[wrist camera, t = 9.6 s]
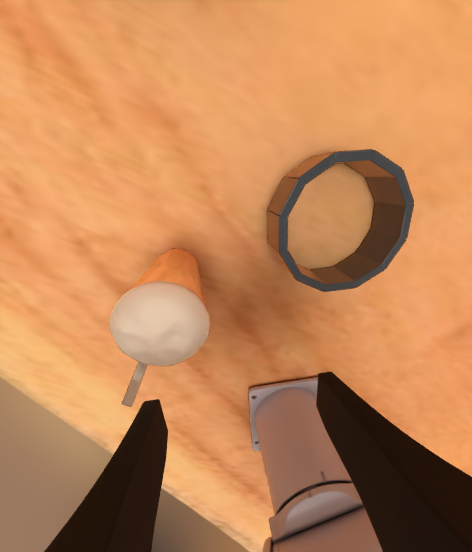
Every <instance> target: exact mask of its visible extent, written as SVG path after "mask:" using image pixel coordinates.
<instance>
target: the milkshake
mask: <svg viewBox="0 0 472 552" xmlns="http://www.w3.org/2000/svg"><path fill="white" fill-rule="evenodd" d="M109 326H110V330H111V332H112V335H113V337H114V340H115V342H116V344H117V346H118V348H119V349H120V350H121V351H122V352H123V353H124V354H126V355H127V356H129V357H131V358H133V359H135V360H137V361H138V364H137V366H136V369H135V371H134V374H133V376H132V379H131V381H130V384H129V386H128V389H127V391H126V394H125V396H124V399H123V401H122V405H126V406H130V407H131V406H132V405H133V403H134V400H135V397H136V395H137V392H138V389H139V386H140V384H141V381H142V378H143V376H144V373H145V370H146V367H147V365H155V366H171V365H174V364H177V363H180V362H182V361H184V360H186V359H188V358H190V357H191V356H193V355H194V354H195V353H196V352H197V351H198V350H199V349H200V348H201V346H202V345H203V344H204V342H205V341H206V339H207V337H208V334H209V330H210V319H209V315H208V311H207V307H206V303H205V298H204V294H203V291H202V287H201V282H200V275H199V269H198V264H197V259H196V258H195V257H193V256H192V255H191V254H190V253H189V252H188V251H187V250H181V249H175V248H173V249H171V250H169V251H166V252H164V253H162V254H161V255H160V256H159V257H158V258H157V259H156V260H155V261H154V263H153V264H152V265H151V266H150V267H149V268H148V269H147V271H146V272H145V273H144V274H143V275H142V276H141V277H140V278H139V280H138V281H137V282H136V283H135V284H134V285H133V286H132V287H131V288H130V289H129V290H128V291H127V292H125V293H124V294H123V295H122V296H121V297H120V298H119V300H118V301H117V303H116V304H115V306H114V308H113V311H112V313H111V316H110V321H109Z"/></svg>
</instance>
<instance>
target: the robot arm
mask: <svg viewBox="0 0 472 552" xmlns="http://www.w3.org/2000/svg"><path fill="white" fill-rule="evenodd" d="M248 395H249V409H250V422H251V436H252V448H253V450H254V451H261V452H262V457H263V462H264V467H265V471H266V476H267V481H268V486H269V490H270V495H271V500H272V504H273V509H274V514H275V516H273V517H271V518H269V524H270V529H271V535H272V537H269V538H268V539H266V540H265V543H264V546H263V552H472V477H471V476H469V475H467V474H466V473H464V472H463V471H461V470H459V469H458V468H456V467H454V466H453V465H451V464H450V463H448V462H446V461H445V460H443V459H442V458H440V457H439V456H437V455H435V454H434V453H432V452H431V451H429V450H428V449H427V448H425V447H424V446H422V445H421V444H419V443H418V442H416V441H415V440H414V439H412V438H411V437H409V436H408V435H407V434H405V433H404V432H403V431H401V430H400V429H399V428H397V427H396V426H395V425H393V424H392V423H391V422H390V421H388V420H387V419H386V418H384V417H383V416H382V415H381V414H379V413H378V412H377V411H376V410H375V409H373V408H372V407H371V406H370V405H369V404H367V403H366V402H365V401H364V400H363V399H362V398H360V397H359V396H358V395H357V394H356V393H355V392H354V391H352V390H351V389H350V388H349V387H348V386H347V385H346V384H345V383H343V382H342V381H341V380H340V379H339V378H338V377H337V376H336V375H335V374H333V373H332V372H325V373H319V374H318V377H315V378H308V379H302V380H296V381H289V382H283V383H277V384H270V385H264V386H258V387H252V388H250V389H249V390H248ZM167 437H168V429H167V426H166V422H165V419H164V415H163V411H162V408H161V404H160V401H159V399H157V400H151V401H145V402H144V403H143V404H142V406H141V408H140V410H139V412H138V414H137V415H136V417H135V419H134V421H133V423H132V425H131V426H130V428H129V430H128V432H127V433H126V435H125V437H124V438H123V440H122V442H121V443H120V445H119V447H118V448H117V450H116V452H115V453H114V455H113V457H112V458H111V460H110V462H109V463H108V464H107V466H106V468H105V469H104V471H103V472H102V474H101V475H100V477H99V478H98V480H97V481H96V483H95V484H94V486H93V487H92V489H91V490H90V492H89V493H88V495H87V496H86V497H85V499H84V500H83V501H82V503H81V504H80V506H79V507H78V508H77V510H76V511H75V512H74V514H73V515H72V516H71V518H70V519H69V521H68V522H67V523H66V525H65V526H64V527H63V528H62V530H61V531H60V532H59V533H58V535H57V536H56V537H55V539H54V540H53V541H52V543H51V544H50V545H49V546H48V548H47V549H46V550H45V551H44V552H151V549H152V540H153V533H154V526H155V520H156V514H157V508H158V502H159V497H160V491H161V485H162V479H163V473H164V467H165V461H166V452H167Z"/></svg>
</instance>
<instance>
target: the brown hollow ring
mask: <svg viewBox="0 0 472 552" xmlns="http://www.w3.org/2000/svg"><path fill="white" fill-rule="evenodd" d="M335 163H344V164H346V165H347V166H349V167H350V168H352V169H354V170H355V171H357V172H358V173H360V174H362V175H363V176H365V178H366V180H367V183H368V185H369V188H370V190H371V193H372V195H373V198H374V200H375V205H374V212H373V219H372V226H371V230H370V231H369V233H368V234H367V236H366V237H365V239H364V240H363V242H362V244H361V245H360V247H359V248H358V250H357V251H356V252H355V253H354V254H352V255H351V256H349V257H348V258H346V259H345V260H343V261H342V262H340V263H339V264H337V265H335V266H334V267H327V268H318V269H310V270H309V269H307V268H305V267H303V266H300V265H298V264H296V263H295V261H294V260H293V258H292V256H291V255H290V253H289V252H288V250H287V242H288V216H289V214H290V212H291V210H292V208H293V206H294V205H295V203H296V201H297V199H298V197H299V195H300V193H301V191H302V190H303V188H304V186H305V184H307V183H308V182H310V181H311V180H312V179H314V178H315V177H317V176H318V175H320V174H321V173H322V172H324V171H325V170H327V169H328V168H329V167H331V166H332V165H334V164H335ZM413 207H414V200H413V197H412V194H411V191H410V188H409V185H408V182H407V179H406V176H405V173H404V170H402V168H401V167H399V166H398V165H397V164H395V163H394V162H392V161H391V160H389V159H388V158H386V157H385V156H383V155H382V154H380V153H379V152H377V151H376V150H373V149H367V150H354V151H341V152H332V153H327V154H321V155H316V156H313V157H310V158H309V159H308V160H306V161H305V162H303V163H302V164H301V165H299V166H298V167H297V168H295V169H294V170H292V171H291V172H290V173H288V174H287V175H285V176H284V178H283V179H282V180H281V182H280V184H279V186H278V188H277V190H276V192H275V194H274V196H273V198H272V200H271V202H270V204H269V206H268V208H267V209H268V210H267V240H268V243H269V245H270V246H271V248H272V250H273V251H274V253H275V254H276V256H277V257H278V259H279V260H280V262H281V264H282V265H283V266H284V267H285V268H286V269H287V271H288V272H289V273H290V274H291V275H292V276H293V277H294V278H295V279H296V280H297V281H299V282H301V283H304V284H306V285H308V286H311V287H313V288H315V289H318V290H320V291H322V292H329V291H337V290H345V289H353V288H355V287H358V286H360V285H362V284H363V283H365V282H366V281H368V280H370V279H371V278H373V277H374V276H376V275H377V274H379V273H381V272H382V271H384V270H385V269H386V268H387V267H388V265H389V264H390V262H391V261H392V260H393V258H394V257H395V255H396V254H397V252H398V251H399V250H400V248H401V247H402V245H403V244H404V243H405V241H406V238H407V236H408V232H409V227H410V222H411V217H412V212H413ZM384 268H385V269H384Z"/></svg>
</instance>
